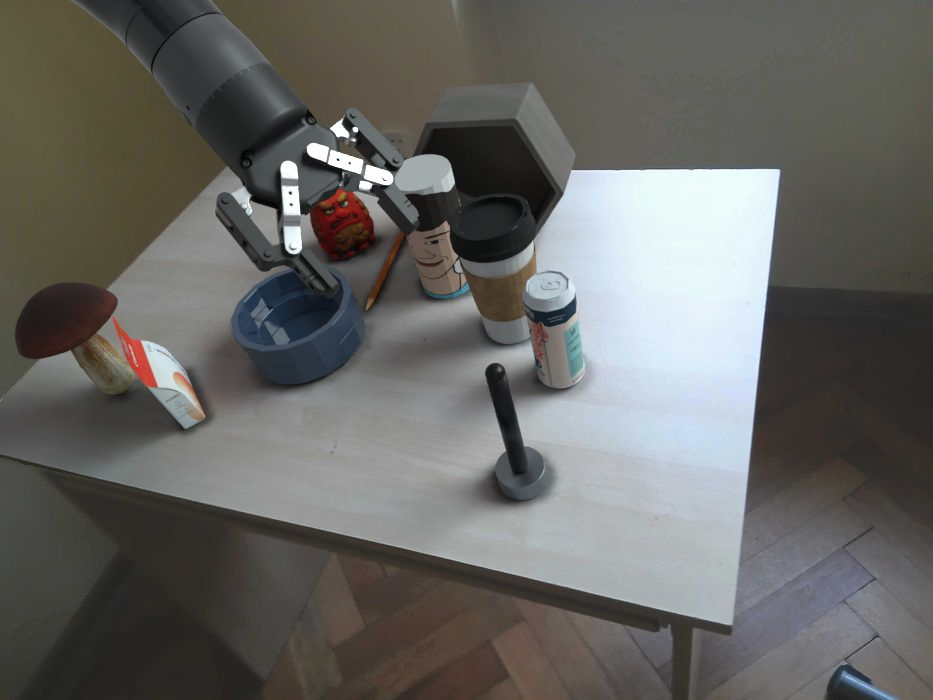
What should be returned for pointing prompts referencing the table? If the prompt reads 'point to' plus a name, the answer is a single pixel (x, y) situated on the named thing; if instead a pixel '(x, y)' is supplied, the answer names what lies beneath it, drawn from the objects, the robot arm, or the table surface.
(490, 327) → the coffee cup
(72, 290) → the decorative mushroom
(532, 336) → the beer can
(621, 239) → the table surface
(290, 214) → the robot arm
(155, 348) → the ink box
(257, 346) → the bowl
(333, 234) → the red clay folk toy
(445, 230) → the cup
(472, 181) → the grey hexagonal shelf
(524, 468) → the rod on round base
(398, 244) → the pencil
